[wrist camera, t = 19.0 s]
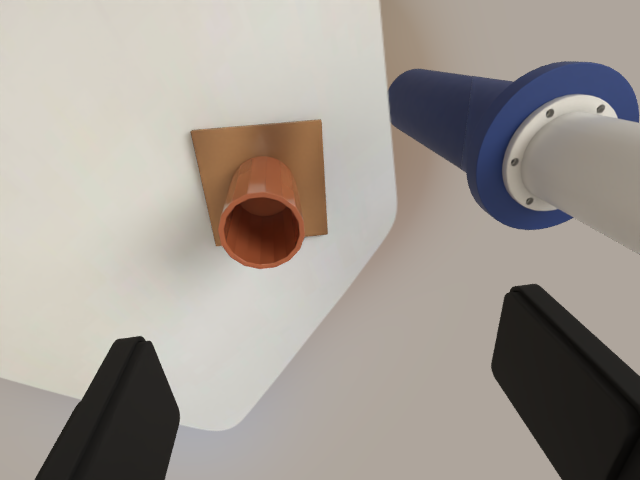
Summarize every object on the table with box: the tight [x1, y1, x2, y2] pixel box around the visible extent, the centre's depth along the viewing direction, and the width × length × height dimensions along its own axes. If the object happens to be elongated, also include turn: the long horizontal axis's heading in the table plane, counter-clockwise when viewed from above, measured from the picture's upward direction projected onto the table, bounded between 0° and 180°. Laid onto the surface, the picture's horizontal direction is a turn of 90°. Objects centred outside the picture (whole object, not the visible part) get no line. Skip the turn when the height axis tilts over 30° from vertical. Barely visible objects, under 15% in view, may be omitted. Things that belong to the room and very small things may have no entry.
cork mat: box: [191, 120, 328, 246], centre depth 37 cm, size 12×12×1 cm
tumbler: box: [218, 156, 305, 269], centre depth 32 cm, size 6×6×10 cm
